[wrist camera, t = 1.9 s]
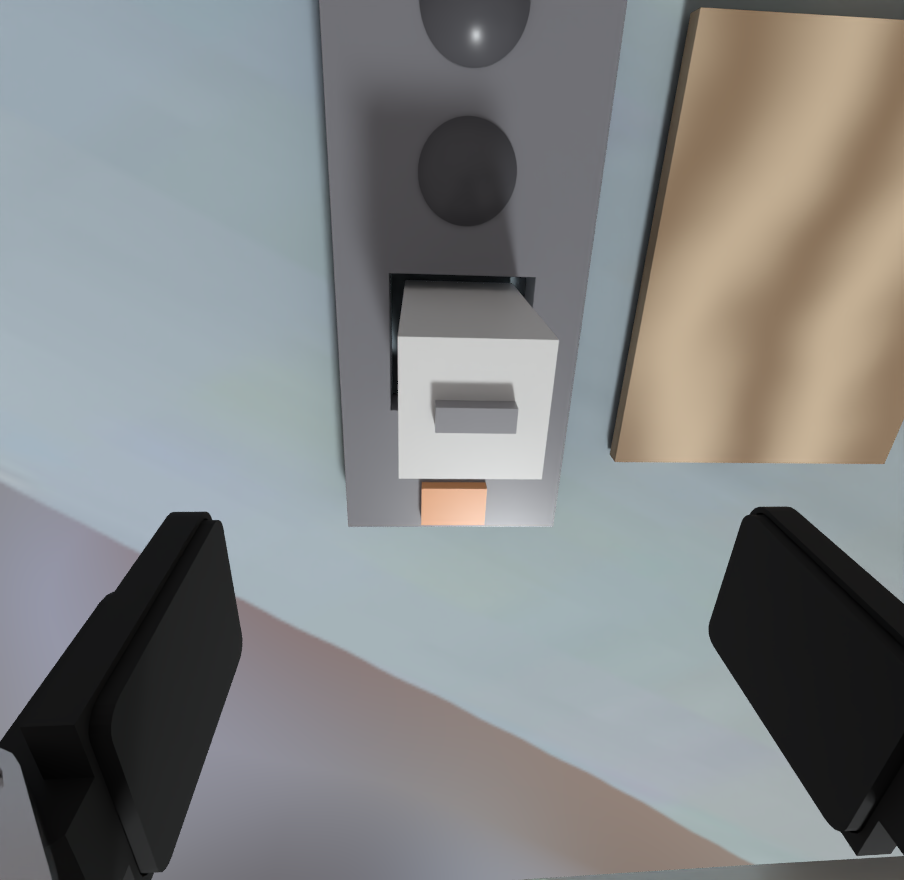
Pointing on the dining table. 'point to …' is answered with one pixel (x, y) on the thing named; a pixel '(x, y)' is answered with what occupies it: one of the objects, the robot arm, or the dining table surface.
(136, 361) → the dining table surface
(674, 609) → the dining table surface
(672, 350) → the wooden board
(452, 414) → the block
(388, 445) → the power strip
